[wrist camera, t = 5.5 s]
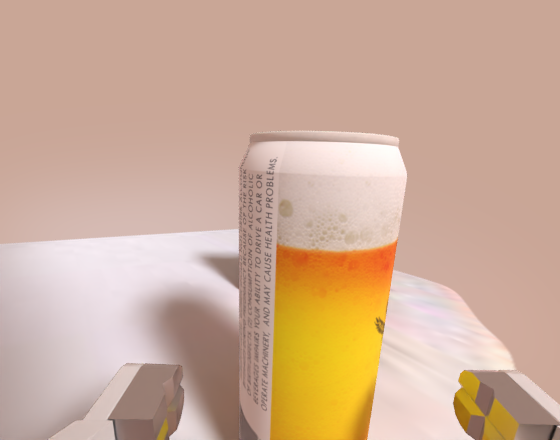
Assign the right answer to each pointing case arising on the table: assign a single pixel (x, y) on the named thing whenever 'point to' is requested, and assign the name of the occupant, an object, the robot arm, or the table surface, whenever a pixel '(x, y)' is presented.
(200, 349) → the table surface
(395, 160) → the beer can
